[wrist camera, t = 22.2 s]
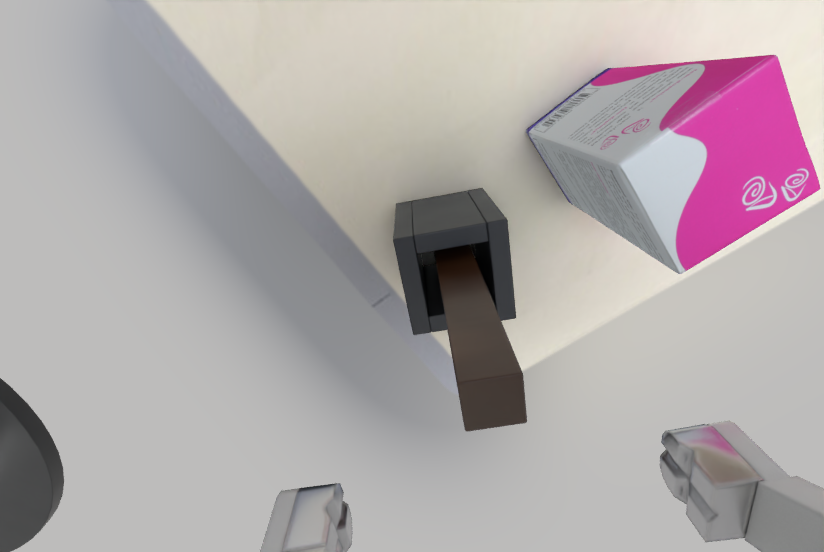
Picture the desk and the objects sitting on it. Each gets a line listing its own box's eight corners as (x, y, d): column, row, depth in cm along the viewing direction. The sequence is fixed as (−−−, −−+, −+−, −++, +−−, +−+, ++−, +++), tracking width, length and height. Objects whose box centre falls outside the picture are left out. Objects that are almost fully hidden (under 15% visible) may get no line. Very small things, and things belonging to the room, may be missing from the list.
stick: (434, 253, 28) (465, 432, 13) (429, 225, 27) (457, 383, 12) (463, 248, 28) (527, 423, 13) (459, 220, 27) (523, 373, 12)
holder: (411, 281, 29) (413, 335, 22) (395, 203, 26) (392, 239, 20) (491, 267, 28) (516, 318, 22) (482, 187, 26) (507, 218, 20)
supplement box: (570, 206, 27) (677, 281, 16) (522, 130, 25) (610, 158, 14) (653, 149, 25) (830, 190, 15) (610, 63, 23) (779, 41, 13)
